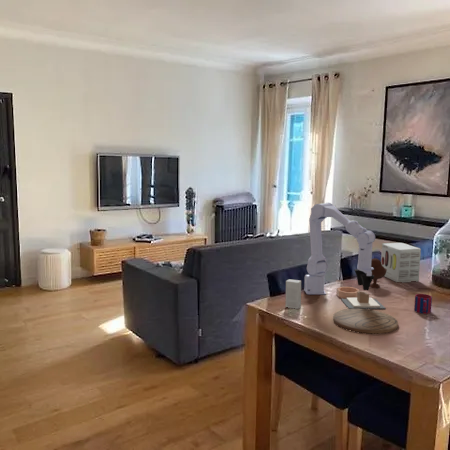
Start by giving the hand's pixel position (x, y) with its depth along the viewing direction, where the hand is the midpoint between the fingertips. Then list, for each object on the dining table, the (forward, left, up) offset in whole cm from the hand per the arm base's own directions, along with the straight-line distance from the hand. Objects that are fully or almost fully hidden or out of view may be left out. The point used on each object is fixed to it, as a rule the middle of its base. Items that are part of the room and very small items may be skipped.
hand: (363, 287), depth 208 cm
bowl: (-3, +13, -8) cm, 15 cm away
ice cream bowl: (+15, +28, -8) cm, 33 cm away
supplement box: (+34, +45, -8) cm, 57 cm away
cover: (0, 0, -7) cm, 7 cm away
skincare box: (-32, -4, -8) cm, 33 cm away
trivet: (-6, -23, -8) cm, 25 cm away
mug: (+23, -11, -8) cm, 26 cm away
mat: (0, 0, -8) cm, 8 cm away
